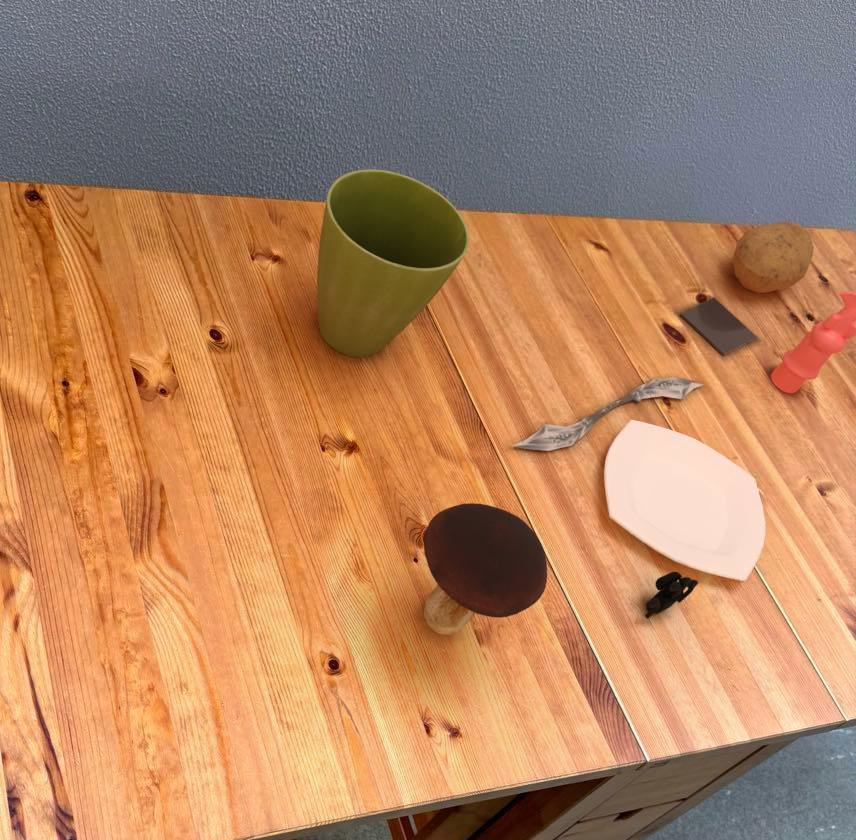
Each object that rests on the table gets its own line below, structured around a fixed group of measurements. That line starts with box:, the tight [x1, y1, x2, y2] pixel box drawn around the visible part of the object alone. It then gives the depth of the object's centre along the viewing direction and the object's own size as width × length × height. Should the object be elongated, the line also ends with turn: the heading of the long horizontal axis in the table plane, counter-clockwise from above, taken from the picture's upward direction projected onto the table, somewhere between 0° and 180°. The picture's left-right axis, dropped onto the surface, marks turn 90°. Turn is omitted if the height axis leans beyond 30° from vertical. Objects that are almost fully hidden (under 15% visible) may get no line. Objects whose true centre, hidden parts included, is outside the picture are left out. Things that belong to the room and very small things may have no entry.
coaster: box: [679, 297, 758, 357], centre depth 129 cm, size 8×8×1 cm
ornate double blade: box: [511, 376, 704, 452], centre depth 113 cm, size 32×1×5 cm
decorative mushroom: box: [423, 502, 548, 636], centre depth 84 cm, size 11×11×15 cm
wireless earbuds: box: [644, 571, 699, 619], centre depth 96 cm, size 7×2×5 cm, turn 121°
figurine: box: [770, 290, 856, 394], centre depth 120 cm, size 5×5×15 cm
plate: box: [603, 419, 766, 582], centre depth 107 cm, size 19×19×2 cm
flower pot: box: [316, 168, 470, 359], centre depth 103 cm, size 15×15×16 cm
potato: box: [733, 221, 815, 294], centre depth 135 cm, size 10×14×8 cm
